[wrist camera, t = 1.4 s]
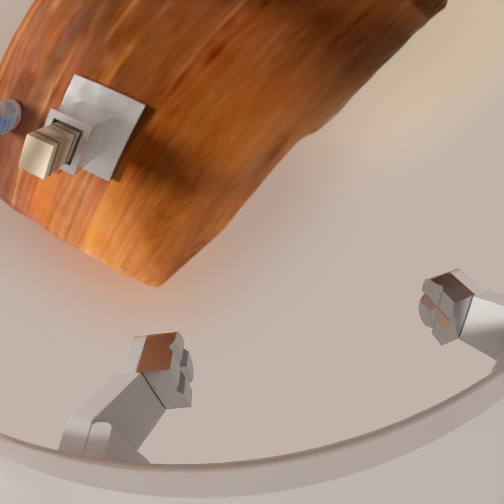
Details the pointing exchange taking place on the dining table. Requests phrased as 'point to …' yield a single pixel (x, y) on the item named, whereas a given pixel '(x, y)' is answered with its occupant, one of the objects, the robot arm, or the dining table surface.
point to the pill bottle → (9, 115)
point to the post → (49, 148)
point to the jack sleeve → (97, 125)
